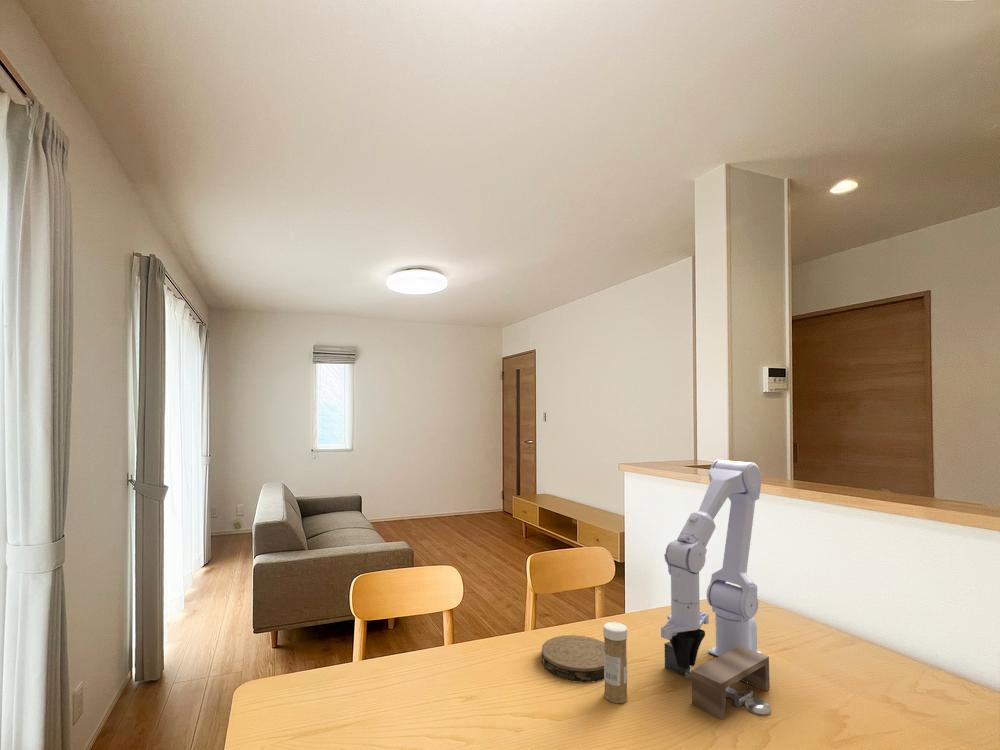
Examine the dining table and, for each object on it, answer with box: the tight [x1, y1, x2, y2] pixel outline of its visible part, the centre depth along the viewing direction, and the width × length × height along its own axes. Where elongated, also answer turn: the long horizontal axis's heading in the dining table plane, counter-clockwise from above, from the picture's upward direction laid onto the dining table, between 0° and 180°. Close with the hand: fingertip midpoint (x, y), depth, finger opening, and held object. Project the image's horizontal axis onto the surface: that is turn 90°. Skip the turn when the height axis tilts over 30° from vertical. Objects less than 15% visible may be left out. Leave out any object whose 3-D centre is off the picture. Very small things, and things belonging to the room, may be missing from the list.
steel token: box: [744, 698, 772, 716], centre depth 96 cm, size 4×4×1 cm
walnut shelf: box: [690, 646, 771, 720], centre depth 101 cm, size 18×6×6 cm, turn 127°
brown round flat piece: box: [541, 634, 605, 683], centre depth 113 cm, size 16×16×3 cm
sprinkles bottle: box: [602, 621, 629, 704], centre depth 100 cm, size 5×5×13 cm
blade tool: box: [664, 641, 754, 708], centre depth 105 cm, size 18×5×5 cm, turn 37°
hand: (686, 665), depth 109 cm, fingers closed on blade tool, 2 cm apart
